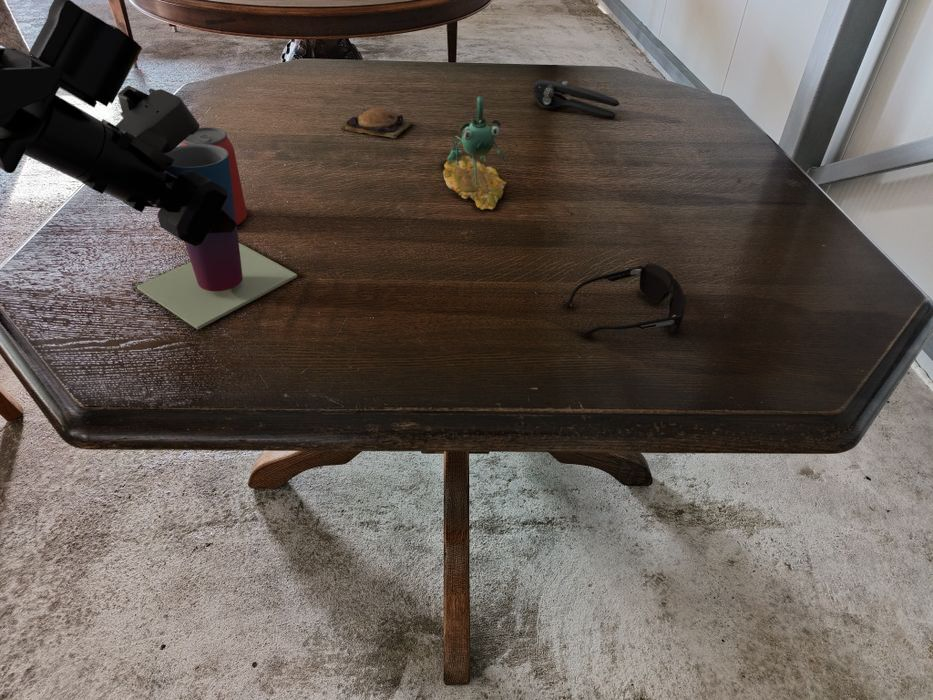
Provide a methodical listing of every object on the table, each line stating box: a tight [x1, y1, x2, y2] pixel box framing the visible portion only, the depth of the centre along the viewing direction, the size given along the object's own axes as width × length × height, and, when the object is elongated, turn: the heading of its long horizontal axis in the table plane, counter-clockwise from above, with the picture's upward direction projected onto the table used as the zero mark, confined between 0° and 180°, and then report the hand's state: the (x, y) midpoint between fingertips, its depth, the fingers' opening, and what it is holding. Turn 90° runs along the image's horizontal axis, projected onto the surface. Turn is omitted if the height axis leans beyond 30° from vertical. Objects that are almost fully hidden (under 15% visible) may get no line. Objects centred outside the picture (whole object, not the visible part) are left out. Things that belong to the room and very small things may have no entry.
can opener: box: [533, 79, 620, 120], centre depth 125 cm, size 18×7×6 cm, turn 67°
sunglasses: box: [567, 262, 686, 339], centre depth 72 cm, size 10×12×5 cm
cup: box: [164, 144, 243, 291], centre depth 69 cm, size 7×7×15 cm
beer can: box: [180, 126, 248, 226], centre depth 83 cm, size 7×7×12 cm
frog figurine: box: [442, 95, 507, 211], centre depth 95 cm, size 10×18×15 cm, turn 13°
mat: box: [136, 242, 298, 331], centre depth 75 cm, size 14×12×1 cm
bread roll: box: [344, 106, 412, 139], centre depth 115 cm, size 11×8×4 cm
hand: (217, 218), depth 70 cm, fingers closed on cup, 6 cm apart
